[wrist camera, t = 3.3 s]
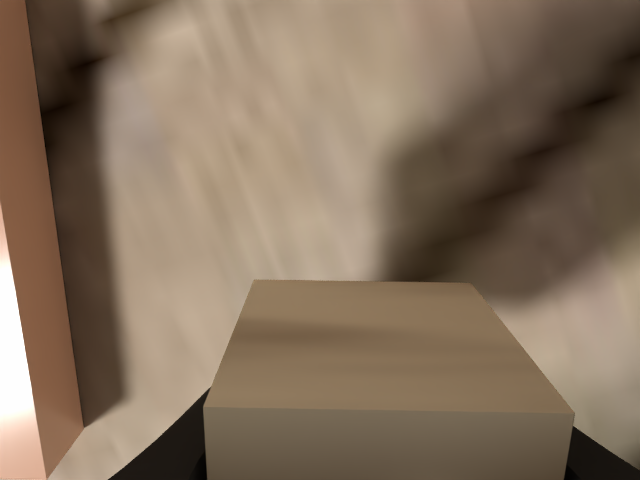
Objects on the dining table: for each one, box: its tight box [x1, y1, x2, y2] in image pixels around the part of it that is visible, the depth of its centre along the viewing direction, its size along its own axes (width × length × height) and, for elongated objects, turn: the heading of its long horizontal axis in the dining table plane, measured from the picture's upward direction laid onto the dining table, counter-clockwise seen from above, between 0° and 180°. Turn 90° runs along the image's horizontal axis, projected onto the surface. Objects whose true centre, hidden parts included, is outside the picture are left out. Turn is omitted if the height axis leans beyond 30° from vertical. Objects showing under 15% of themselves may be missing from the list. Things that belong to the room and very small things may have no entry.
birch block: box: [203, 280, 575, 480], centre depth 10 cm, size 5×5×5 cm
